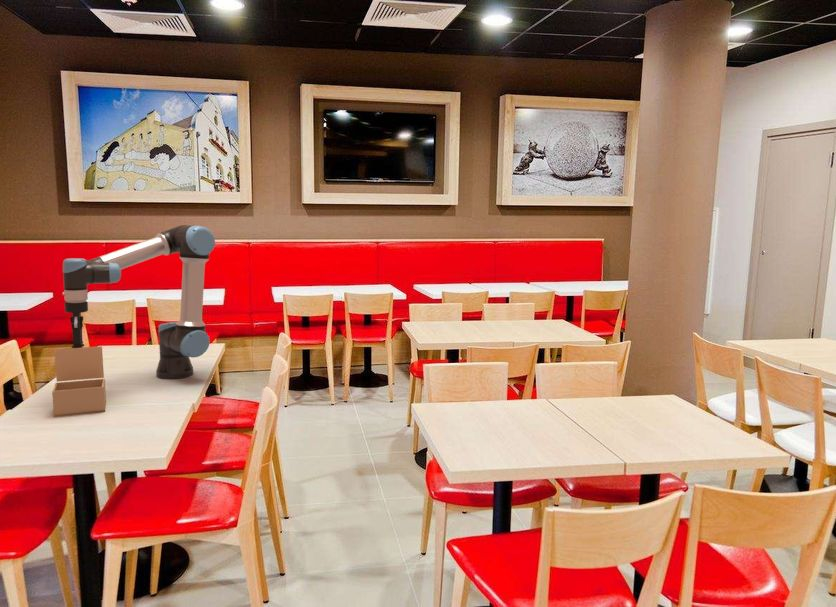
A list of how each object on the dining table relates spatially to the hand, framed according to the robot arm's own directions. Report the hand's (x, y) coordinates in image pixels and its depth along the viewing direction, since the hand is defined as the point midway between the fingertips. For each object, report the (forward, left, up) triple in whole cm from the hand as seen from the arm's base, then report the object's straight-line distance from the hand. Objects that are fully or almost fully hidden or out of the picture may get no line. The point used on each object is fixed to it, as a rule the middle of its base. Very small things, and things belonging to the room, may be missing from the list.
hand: (78, 364), depth 245 cm
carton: (-1, +10, -14) cm, 17 cm away
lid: (-1, +4, +1) cm, 4 cm away
